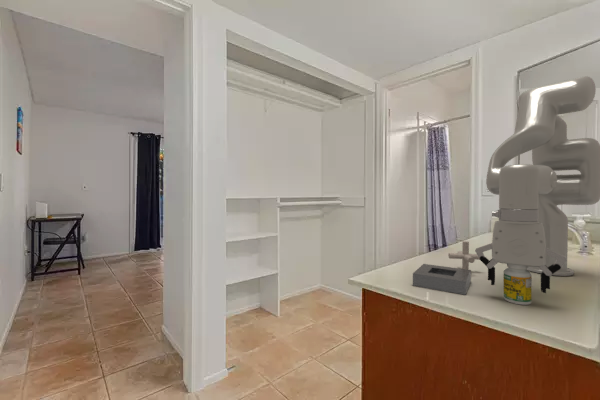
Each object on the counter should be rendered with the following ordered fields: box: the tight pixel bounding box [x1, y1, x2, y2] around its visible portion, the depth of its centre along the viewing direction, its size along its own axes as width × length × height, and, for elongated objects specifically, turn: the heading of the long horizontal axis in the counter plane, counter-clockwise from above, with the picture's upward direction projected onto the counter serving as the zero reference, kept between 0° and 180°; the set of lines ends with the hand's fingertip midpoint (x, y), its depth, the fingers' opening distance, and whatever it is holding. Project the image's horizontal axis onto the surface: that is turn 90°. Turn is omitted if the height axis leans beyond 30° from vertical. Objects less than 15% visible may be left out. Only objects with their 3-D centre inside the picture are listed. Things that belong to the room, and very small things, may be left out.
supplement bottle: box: [503, 264, 533, 306], centre depth 68 cm, size 5×5×10 cm
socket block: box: [412, 263, 472, 296], centre depth 81 cm, size 13×13×4 cm
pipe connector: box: [448, 240, 481, 270], centre depth 94 cm, size 10×10×10 cm
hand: (517, 287), depth 68 cm, fingers open, 9 cm apart
